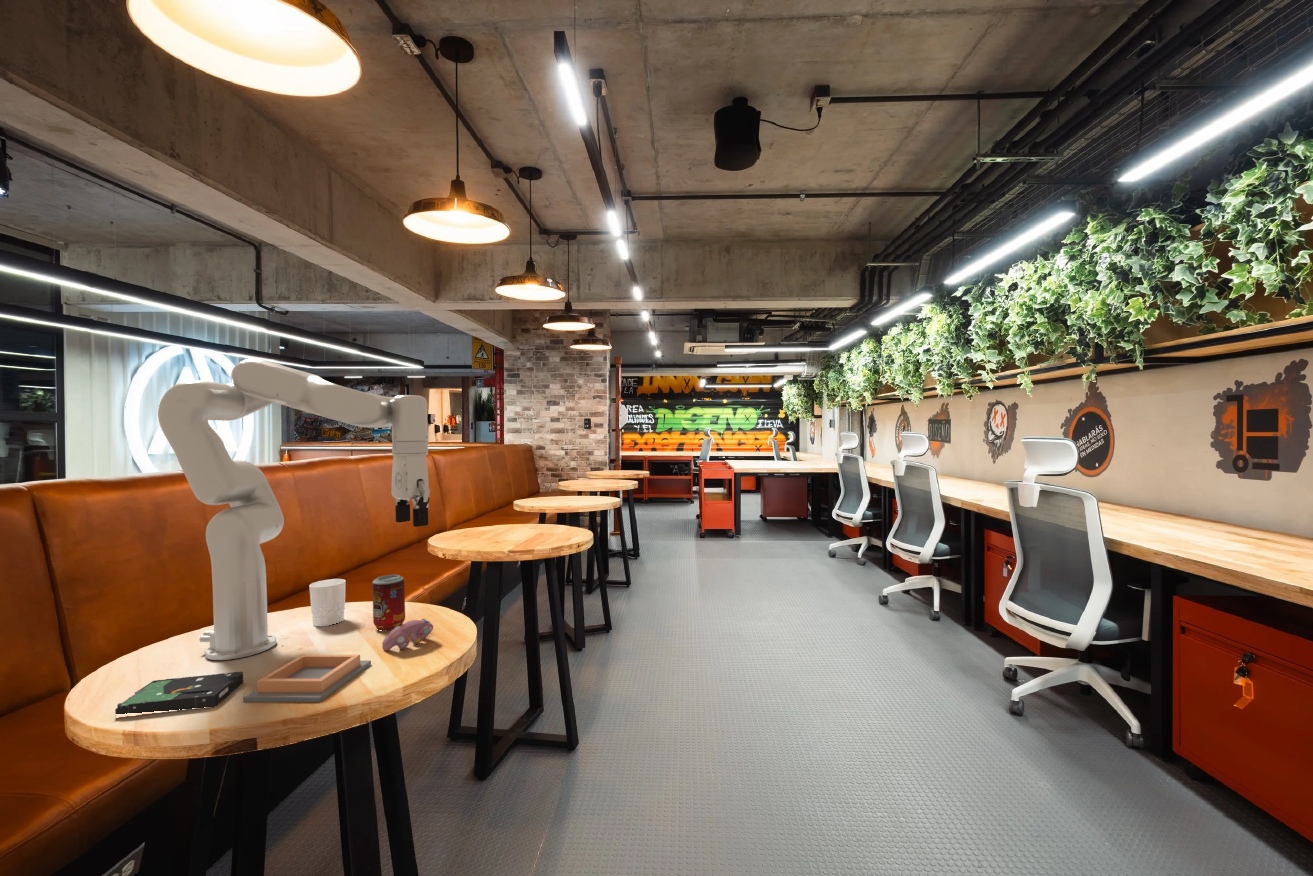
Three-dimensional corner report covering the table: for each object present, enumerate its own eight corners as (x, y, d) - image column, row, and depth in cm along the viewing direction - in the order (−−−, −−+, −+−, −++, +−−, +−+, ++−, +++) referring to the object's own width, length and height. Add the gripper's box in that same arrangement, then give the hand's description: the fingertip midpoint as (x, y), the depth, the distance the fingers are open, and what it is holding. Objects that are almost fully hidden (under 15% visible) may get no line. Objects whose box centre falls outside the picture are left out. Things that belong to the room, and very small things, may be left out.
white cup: (353, 618, 145) (352, 579, 145) (329, 628, 137) (328, 587, 137) (328, 616, 146) (326, 578, 146) (302, 626, 139) (301, 586, 139)
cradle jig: (243, 701, 99) (242, 686, 99) (304, 664, 115) (304, 651, 115) (319, 702, 98) (319, 686, 98) (370, 664, 114) (370, 650, 114)
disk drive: (244, 685, 108) (152, 694, 104) (244, 670, 108) (152, 679, 104) (216, 710, 97) (113, 722, 94) (215, 694, 97) (113, 705, 94)
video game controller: (388, 661, 120) (395, 635, 118) (379, 647, 122) (385, 621, 120) (431, 646, 128) (438, 621, 126) (421, 634, 130) (428, 609, 128)
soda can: (366, 631, 134) (365, 580, 134) (387, 621, 141) (386, 573, 141) (391, 633, 132) (390, 581, 132) (411, 623, 139) (410, 574, 139)
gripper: (379, 449, 132) (380, 522, 132) (409, 450, 120) (410, 530, 120) (411, 448, 137) (412, 518, 138) (443, 449, 125) (444, 525, 126)
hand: (411, 523), depth 129 cm, fingers open, 9 cm apart
